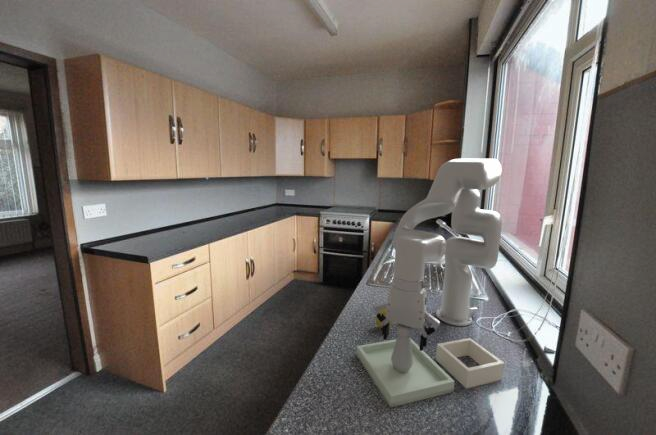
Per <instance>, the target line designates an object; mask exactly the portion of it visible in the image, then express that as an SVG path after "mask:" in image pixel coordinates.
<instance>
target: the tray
mask: <svg viewBox="0 0 656 435" xmlns="http://www.w3.org/2000/svg"><path fill="white" fill-rule="evenodd" d="M396 340H397V338H396V339H390V340H384V341H378V342H372V343H368V344H362V345H361V344H360V345H357V346H356V357H357V359H359V361H360V363H361V364H362V366H363V367H364V369H365V370H366V372H367V373H368V376H370V378H371V379H372V381H373V383H374V385H376V387H377V389H378V391H379V393H381V395H382V397H383V399H384V400H385V402H386V403H387V404H388V406H389V408H394V407H399V406H403V405H406V404H411V403H415V402H419V401H422V400H426V399H431V398H434V397H439V396H443V395H446V394H450V393H454V390H455V384H456V383H455V380H454V379H453V378H452V377H451V376H450V375H449V374H448V373H447V372H446V371H445V370H444V369H443V368H442V367H440V366H439V364H437V363H436V361H435V360H433V358H431V357H430V356H429V354H427V353H426V352H425V351H424V349H423V350H422V351H420V350H419V349H420V345H418V344H417V342H415V341H414V339H412V338H411V348H412V358H413V364H412V367H411V368H410V369H409V371H408V372H407V373H399V372H398V371H396V370H395V369H394V367H393V364H392V361H391V357H392V353H393V350H394V347H395V344H396Z"/></svg>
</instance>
